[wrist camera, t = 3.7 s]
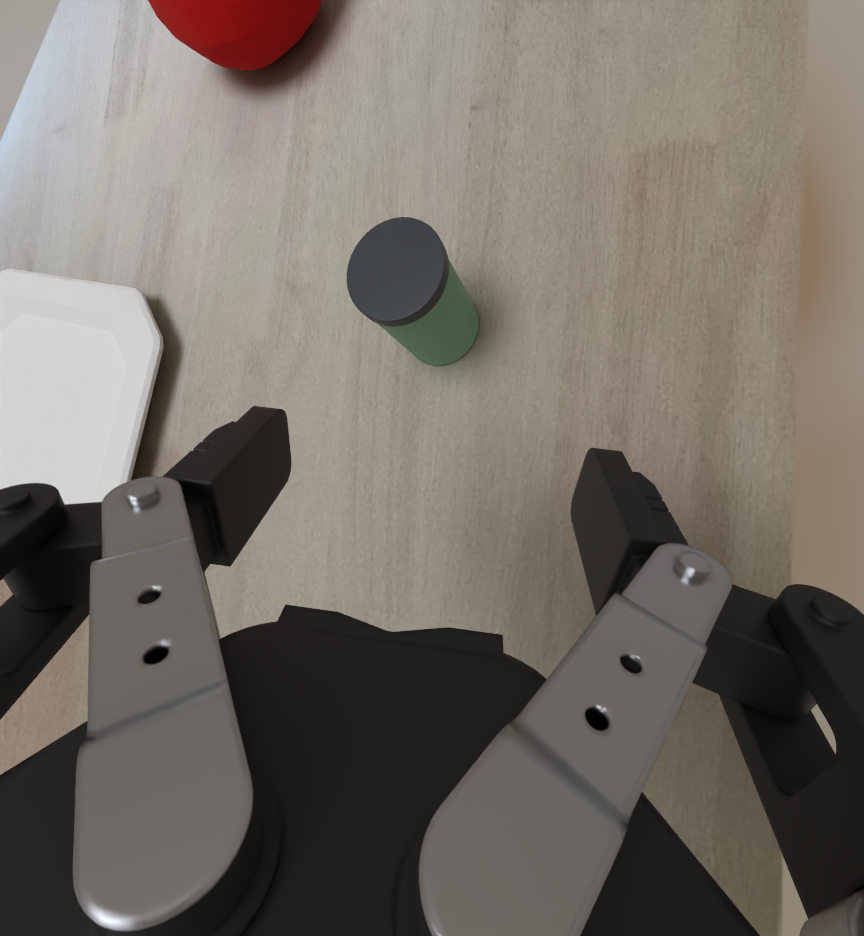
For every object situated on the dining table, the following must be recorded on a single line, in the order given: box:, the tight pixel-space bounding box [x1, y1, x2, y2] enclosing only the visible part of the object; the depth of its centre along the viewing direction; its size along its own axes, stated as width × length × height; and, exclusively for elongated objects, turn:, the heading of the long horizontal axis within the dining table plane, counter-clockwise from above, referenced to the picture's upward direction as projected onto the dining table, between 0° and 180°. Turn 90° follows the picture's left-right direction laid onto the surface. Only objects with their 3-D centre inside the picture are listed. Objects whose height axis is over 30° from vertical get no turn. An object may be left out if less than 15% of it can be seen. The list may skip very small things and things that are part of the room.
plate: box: [0, 268, 164, 504], centre depth 39 cm, size 25×25×2 cm
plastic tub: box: [347, 217, 479, 365], centre depth 26 cm, size 5×5×8 cm
